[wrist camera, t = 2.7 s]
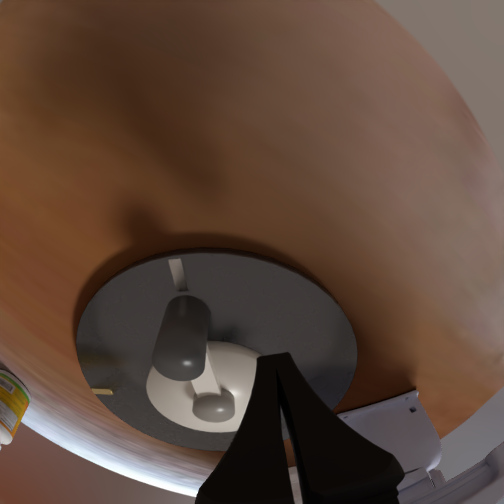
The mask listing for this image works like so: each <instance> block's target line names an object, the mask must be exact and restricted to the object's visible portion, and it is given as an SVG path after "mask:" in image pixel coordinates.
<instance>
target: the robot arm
mask: <svg viewBox="0 0 504 504" xmlns="http://www.w3.org/2000/svg"><path fill="white" fill-rule="evenodd" d="M256 361H257V364H256V373H255V379H254V384H253V388H252V392H251V396H250V399H249V402H248V405H247V408H246V411H245V414H244V416H243V419H242V421H241V424H240V426H239V428H238V430H237V432H236V434H235V436H234V438H233V440H232V442H231V444H230V446H229V448H228V449H227V451H226V453H225V454H224V456H223V457H222V459H221V460H220V462H219V463H218V465H217V466H216V468H215V469H214V471H213V472H212V473H211V474H210V476H209V477H208V478H207V479H206V481H205V482H204V483H203V484H202V486H201V487H200V488H199V491H198V494H197V496H196V500H195V504H295V502H294V496H293V491H292V486H291V480H290V475H289V470H288V464H287V459H286V453H285V448H284V442H283V436H282V422H281V409H282V412H283V416H284V419H285V423H286V426H287V430H288V433H289V437H290V440H291V444H292V447H293V452H294V457H295V462H296V468H297V474H298V479H299V485H300V491H301V497H302V503H303V504H496V503H497V502H498V501H500V500H501V499H502V498H503V497H504V442H503V443H501V444H500V445H499V446H497V447H496V448H495V449H494V450H492V451H491V452H490V453H489V454H488V455H487V456H486V457H485V459H483V460H482V461H480V462H479V463H477V464H475V465H474V466H472V467H471V468H469V469H467V470H466V471H464V472H462V473H461V474H459V475H457V476H456V477H454V478H452V479H450V480H448V481H447V482H446V480H445V478H444V476H443V474H442V473H441V471H440V470H435V469H433V468H435V467H436V466H437V465H438V463H439V462H440V459H441V455H442V448H441V442H440V439H439V436H438V434H437V432H436V430H435V428H434V426H433V424H432V422H431V421H430V419H429V417H428V415H427V413H426V412H425V410H424V408H423V406H422V404H421V403H420V401H419V399H418V394H419V392H418V390H414V391H411V392H409V393H406V394H403V395H400V396H398V397H395V398H392V399H389V400H386V401H382V402H379V403H376V404H373V405H369V406H366V407H363V408H359V409H355V410H352V411H348V412H344V413H340V414H338V415H336V414H335V413H334V412H333V411H332V410H331V409H330V408H329V407H328V406H327V405H326V404H325V403H324V402H323V401H322V400H321V398H320V397H319V396H318V395H317V394H316V393H315V391H314V390H313V389H312V388H311V386H310V385H309V384H308V382H307V381H306V380H305V378H304V377H303V375H302V374H301V372H300V371H299V369H298V367H297V366H296V364H295V362H294V360H293V358H292V356H291V354H290V353H289V352H284V353H278V354H272V355H265V356H259V357H258V358H257V359H256ZM280 405H281V407H280ZM429 470H430V471H429ZM427 471H429V473H430V475H431V478H432V479H431V480H432V482H433V485H434V487H435V488H434V487H433V485H432V482H431V480H430V478H429V476H428V473H427Z"/></svg>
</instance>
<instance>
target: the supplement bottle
mask: <svg viewBox="0 0 504 504" xmlns="http://www.w3.org/2000/svg"><path fill="white" fill-rule="evenodd" d="M30 400H31V397H30V394H29V392H28V390H27V389H26V387H25V386H24V385H23V384H22V383H21V382H20V381H19V380H18V379H17V378H16V377H14V376H13V375H12V374H10V373H9V372H7V371H5V370H0V445H1V443H2V444H9V443H10V442H11V441H12V439H13V437H14V434H15V432H16V430H17V428H18V426H19V423H20V421H21V419H22V417H23V415H24V413H25V411H26V409H27V407H28V405H29V403H30ZM0 450H1V446H0Z"/></svg>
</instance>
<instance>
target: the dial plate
mask: <svg viewBox="0 0 504 504" xmlns="http://www.w3.org/2000/svg"><path fill="white" fill-rule="evenodd" d="M181 295H190V296H194V297H196V298H198V299H200V300H201V301H203V302H204V303H205V304H206V306H207V307H208V310H209V326H208V337H207V341H222V342H229V343H234V344H238V345H241V346H245V347H248V348H250V349H252V350H254V351H256V352H258V353H260V354H261V355H263V356H265V355H272V354H278V353H284V352H289V353H290V354H291V356H292V358H293V360H294V362H295V364H296V366H297V367H298V369H299V371H300V372H301V374H302V375H303V377H304V378H305V380H306V381H307V382H308V384H309V385H310V386H311V388H312V389H313V390H314V391H315V393H316V394H317V395H318V396H319V397H320V398H321V400H322V401H323V402H324V403H325V404H326V405H327V406H328V407H329V408H330V409H331V410H333V409H334V408H335V407H336V406H337V404H338V403H339V402H340V401H341V400H342V398H343V397H344V395H345V394H346V392H347V390H348V389H349V387H350V384H351V382H352V380H353V377H354V374H355V370H356V366H357V352H358V351H357V344H356V338H355V335H354V332H353V329H352V327H351V324H350V322H349V321H348V319H347V317H346V315H345V314H344V312H343V310H342V309H341V307H340V305H339V304H338V302H337V301H336V300H335V299H334V298H333V297H332V295H331V294H330V293H329V292H328V291H327V290H326V289H325V288H324V287H322V286H321V285H320V284H319V283H318V282H316V281H315V280H314V279H313V278H311V277H310V276H308V275H306V274H305V273H303V272H301V271H300V270H298V269H296V268H295V267H292V266H290V265H288V264H285V263H283V262H281V261H278V260H276V259H274V258H270V257H267V256H263V255H260V254H256V253H252V252H247V251H241V250H235V249H228V248H205V247H200V248H189V249H178V250H173V251H169V252H164V253H160V254H155V255H153V256H150V257H147V258H145V259H142V260H139V261H137V262H134V263H133V264H131V265H129V266H127V267H126V268H124V269H122V270H120V271H119V272H117V273H116V274H115V275H113V276H112V277H111V278H110V279H109V280H107V281H106V282H105V283H104V284H103V285H102V286H101V288H100V289H99V290H98V291H97V292H96V293H95V295H94V296H93V297H92V299H91V300H90V302H89V303H88V305H87V307H86V309H85V310H84V312H83V314H82V316H81V319H80V323H79V326H78V330H77V339H76V345H77V356H78V360H79V364H80V367H81V370H82V372H83V374H84V377H85V379H86V381H87V382H88V384H89V386H90V387H91V390H92V391H93V392H94V394H95V395H96V396H97V397H98V398H99V400H100V401H101V402H102V403H103V404H104V405H105V406H106V407H107V408H108V409H109V410H110V411H111V412H113V413H114V414H115V415H116V416H117V417H119V418H120V419H121V420H123V421H124V422H126V423H127V424H129V425H130V426H132V427H133V428H135V429H137V430H139V431H141V432H143V433H145V434H147V435H149V436H151V437H154V438H156V439H159V440H161V441H164V442H167V443H170V444H174V445H178V446H182V447H187V448H192V449H199V450H208V451H227V449H228V448H229V446H230V444H231V442H232V440H233V438H234V436H235V434H236V432H237V431H232V432H206V431H200V430H195V429H191V428H188V427H185V426H182V425H180V424H177V423H175V422H173V421H171V420H170V419H168V418H167V417H165V416H164V415H162V414H161V413H160V412H159V411H158V410H157V409H156V408H155V407H154V406H153V404H152V403H151V401H150V399H149V397H148V394H147V389H146V385H147V379H148V375H149V371H150V369H151V366H152V359H151V358H152V353H153V350H154V346H155V343H156V340H157V336H158V333H159V330H160V327H161V323H162V320H163V317H164V314H165V311H166V307H167V305H168V303H169V302H170V301H171V300H172V299H173V298H175V297H177V296H181ZM280 407H281V405H280ZM281 422H282V436H283V440H286V439H289V438H290V437H289V433H288V430H287V426H286V423H285V419H284V416H283V412H282V409H281Z"/></svg>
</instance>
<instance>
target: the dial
mask: <svg viewBox="0 0 504 504" xmlns="http://www.w3.org/2000/svg"><path fill="white" fill-rule="evenodd" d="M208 326H209V310H208V307H207V306H206V304H205V303H204V302H203V301H201V300H200V299H198V298H196V297H194V296H190V295H181V296H177V297H175V298H173V299H172V300H171V301H170V302H169V303H168V305H167V307H166V311H165V314H164V317H163V320H162V323H161V327H160V330H159V333H158V336H157V340H156V343H155V346H154V350H153V353H152V358H151V359H152V366H151V369H150V371H149V375H148V379H147V385H146V389H147V394H148V397H149V399H150V401H151V403H152V404H153V406H154V407H155V408H156V409H157V410H158V411H159V412H160V413H161V414H162V415H164V416H165V417H167V418H168V419H170V420H171V421H173V422H175V423H177V424H180V425H182V426H185V427H188V428H191V429H195V430H200V431H206V432H232V431H237V430H238V428H239V426H240V424H241V421H242V419H243V416H244V414H245V411H246V408H247V405H248V402H249V399H250V396H251V392H252V388H253V384H254V379H255V373H256V364H257V361H256V359H257V358H258V357H259V356H263V355H261V354H260V353H258V352H256V351H254V350H252V349H250V348H248V347H245V346H241V345H238V344H234V343H229V342H222V341H207V337H208Z"/></svg>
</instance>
